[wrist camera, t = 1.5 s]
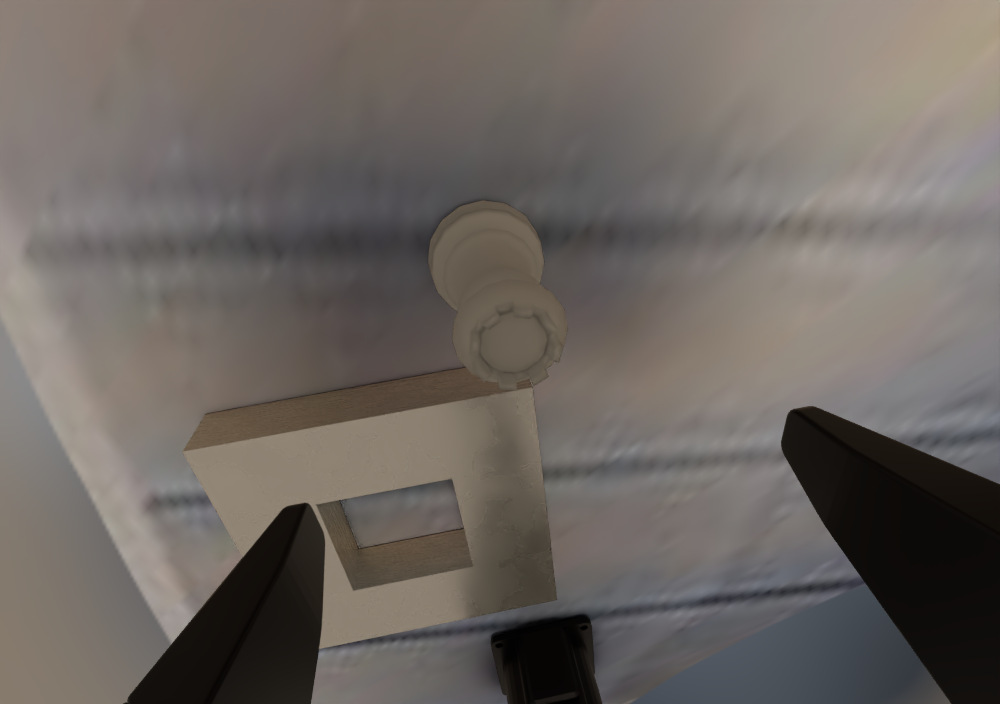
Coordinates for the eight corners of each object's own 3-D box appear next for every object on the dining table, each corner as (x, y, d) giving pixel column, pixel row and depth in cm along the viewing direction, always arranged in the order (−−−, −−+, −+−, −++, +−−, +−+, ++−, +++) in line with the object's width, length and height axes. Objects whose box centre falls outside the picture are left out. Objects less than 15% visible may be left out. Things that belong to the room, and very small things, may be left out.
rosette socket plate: (547, 561, 30) (557, 599, 28) (307, 609, 29) (298, 653, 27) (521, 357, 23) (532, 387, 21) (205, 414, 22) (182, 451, 20)
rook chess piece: (556, 219, 20) (627, 300, 13) (515, 317, 22) (558, 433, 15) (447, 180, 19) (463, 246, 12) (413, 288, 21) (409, 399, 14)
